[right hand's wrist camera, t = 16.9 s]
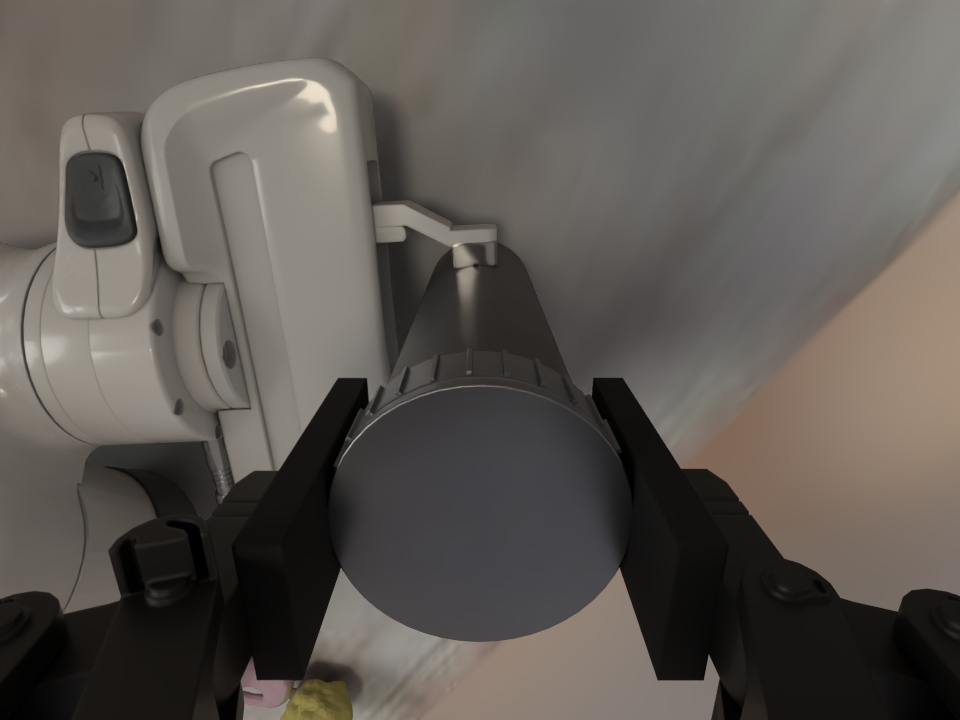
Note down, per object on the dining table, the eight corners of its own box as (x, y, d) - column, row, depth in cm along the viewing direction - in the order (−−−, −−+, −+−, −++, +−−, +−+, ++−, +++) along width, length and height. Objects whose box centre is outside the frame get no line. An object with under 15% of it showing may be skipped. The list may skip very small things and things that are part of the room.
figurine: (147, 641, 39) (343, 722, 40) (103, 698, 34) (323, 786, 36) (171, 581, 37) (374, 668, 38) (127, 633, 33) (358, 729, 34)
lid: (287, 470, 12) (257, 522, 11) (484, 285, 11) (485, 309, 9) (476, 622, 14) (475, 688, 12) (671, 477, 12) (702, 529, 11)
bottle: (487, 218, 28) (500, 328, 10) (550, 297, 29) (660, 518, 11) (409, 283, 29) (295, 488, 11) (473, 356, 31) (464, 641, 13)
